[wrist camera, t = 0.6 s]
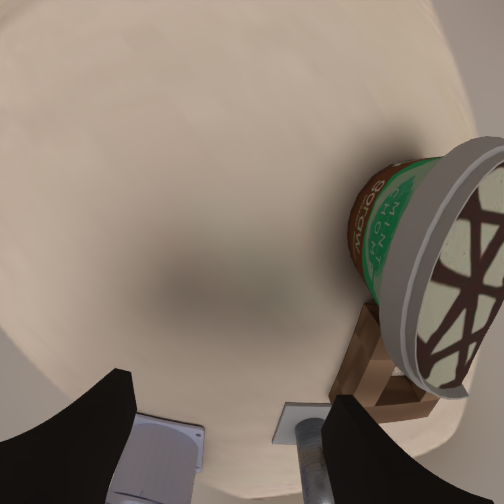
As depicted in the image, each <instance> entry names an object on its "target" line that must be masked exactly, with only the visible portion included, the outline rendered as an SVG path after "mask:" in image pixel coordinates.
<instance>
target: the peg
mask: <svg viewBox="0 0 504 504" xmlns="http://www.w3.org/2000/svg"><path fill="white" fill-rule="evenodd" d="M324 422H325V420H324V419H322V418H308V419H305V420H303V421H301V422H299V423H298V424H297V425H296V426H295V437H296V444H297V452H298V459H299V467H300V475H301V483H302V491H303V499H304V504H335V502H334V497H333V493H332V489H331V484H330V480H329V476H328V472H327V468H326V463H325V459H324V454H323V447H322V436H321V428H322V426H323V424H324Z"/></svg>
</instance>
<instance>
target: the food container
mask: <svg viewBox="0 0 504 504" xmlns="http://www.w3.org/2000/svg"><path fill="white" fill-rule="evenodd" d="M347 236H348V247H349V251H350V255H351V258H352V261H353V263H354V266H355V267H356V269H357V271H358V272H359V274H360V275H361V277H362V279H363V280H364V282H365V284H366V285H367V287H368V289H369V290H370V292H371V294H372V295H373V297H374V299H375V301H376V302H377V304H378V306H379V319H380V327H381V335H382V338H383V342H384V345H385V348H386V351H387V353H388V354H389V356H390V358H391V360H392V361H393V363H394V364H395V365H396V366H397V367H398V368H399V369H400V370H401V371H402V372H403V373H404V374H405V375H406V376H407V377H408V378H409V379H410V380H412V381H413V382H414V383H415V384H416V385H417V386H418V387H420V388H421V389H423V390H425V391H426V392H429V393H432V394H433V395H435V396H437V397H439V398H443V399H448V400H451V399H463V398H468V397H469V395H468V393H467V391H466V390H465V388H464V386H463V385H462V381H463V379H464V377H465V376H466V374H467V373H468V370H469V368H470V365H471V363H472V360H473V359H474V357H475V355H476V353H477V351H478V349H479V347H480V345H481V342H482V340H483V338H484V336H485V334H486V333H487V331H488V329H489V327H490V325H491V324H492V322H493V320H494V318H495V316H496V315H497V313H498V310H499V309H500V307H501V305H502V302H503V300H504V139H503V138H500V137H490V136H486V137H480V138H475V139H471V140H469V141H467V142H465V143H463V144H461V145H458V146H457V147H455V148H454V149H453V150H452V151H450V152H449V153H448V154H446V155H445V156H442V157H433V158H425V159H418V160H410V161H405V162H401V163H396V164H392V165H389V166H388V167H386V168H385V169H383V170H381V171H380V172H378V173H377V174H375V175H374V176H372V177H371V179H370V180H369V181H368V182H367V184H366V185H365V186H364V188H363V189H362V190H361V191H360V193H359V194H358V196H357V198H356V200H355V203H354V205H353V208H352V210H351V213H350V218H349V222H348V234H347Z"/></svg>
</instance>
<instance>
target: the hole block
mask: <svg viewBox="0 0 504 504" xmlns="http://www.w3.org/2000/svg"><path fill="white" fill-rule="evenodd" d="M395 367H396V365H395V364H394V363H393V361H392V360H391V358H390V356H389V354H388V353H387V351H386V348H385V345H384V342H383V338H382V335H381V327H380V319H379V306H378V305H372V304H364V305H363V308H362V311H361V314H360V317H359V320H358V323H357V326H356V329H355V331H354V334H353V337H352V340H351V342H350V345H349V348H348V350H347V353H346V355H345V358H344V361H343V363H342V366H341V368H340V371H339V373H338V375H337V378H336V380H335V382H334V385H333V387H332V389H331V392H330V394H329V399H330V402H331V406H332V404H333V402H334V400H335V398H336V395H350V394H352V395H353V396H354V397H355V398H356V399H357V400H358V402H359V403H360V404H361V405H362V406H363V407H364V409H365V410H366V411H367V412H368V413H369V414H370V416H371V417H372V418H373V419H374V420H375V421H376V422H377V424H379V423H388V422H397V421H404V420H411V419H417V418H423V417H428V415H429V414H430V412H431V411H432V409H433V408H434V407H435V405H436V404H437V402H438V401H439V399H440V398H439V397H437V396H435V395H433V394H432V393H429V392H426V391H425V390H423V389H421V388H420V387H418V386H417V385H416V384H415V383H414V382H413V381H412V380H410V379H409V378H408V377H407V376H406V375H405V376H391V375H392V373H393V371H394V369H395Z"/></svg>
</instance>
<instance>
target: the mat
mask: <svg viewBox="0 0 504 504" xmlns="http://www.w3.org/2000/svg"><path fill="white" fill-rule="evenodd" d="M331 407H332V406H331V404H314V403H285V406H284V409H283V412H282V415H281V418H280V420H279V423H278V426H277V429H276V431H275V434H274V437H273V439H272V444H292V445H297V444H296V437H295V426H296V425H297V424H298V423H299V422H301V421H303V420H305V419H308V418H322V419H324V420H326V417H327V415H328V413H329V411H330V409H331Z"/></svg>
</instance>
